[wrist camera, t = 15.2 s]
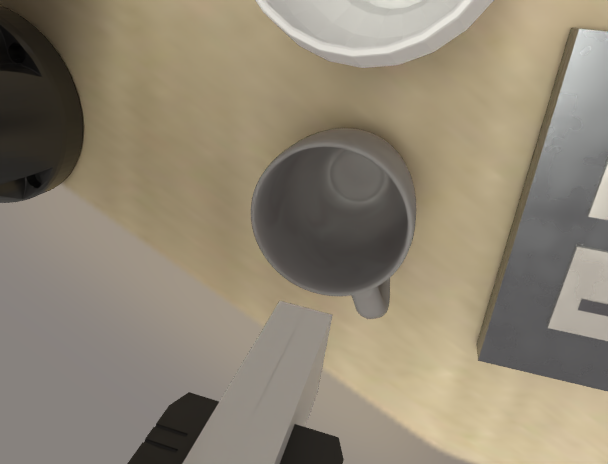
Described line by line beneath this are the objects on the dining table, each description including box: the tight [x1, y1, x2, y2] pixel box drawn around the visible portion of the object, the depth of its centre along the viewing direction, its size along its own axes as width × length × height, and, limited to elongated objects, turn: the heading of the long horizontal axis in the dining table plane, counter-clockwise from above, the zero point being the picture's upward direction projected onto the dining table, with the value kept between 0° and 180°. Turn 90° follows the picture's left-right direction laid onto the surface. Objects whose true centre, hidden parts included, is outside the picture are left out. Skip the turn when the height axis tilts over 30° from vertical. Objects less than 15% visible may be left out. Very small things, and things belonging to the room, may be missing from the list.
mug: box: [251, 128, 416, 319], centre depth 31 cm, size 12×9×10 cm
